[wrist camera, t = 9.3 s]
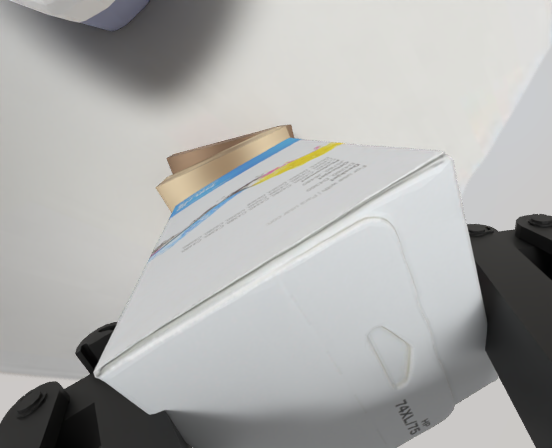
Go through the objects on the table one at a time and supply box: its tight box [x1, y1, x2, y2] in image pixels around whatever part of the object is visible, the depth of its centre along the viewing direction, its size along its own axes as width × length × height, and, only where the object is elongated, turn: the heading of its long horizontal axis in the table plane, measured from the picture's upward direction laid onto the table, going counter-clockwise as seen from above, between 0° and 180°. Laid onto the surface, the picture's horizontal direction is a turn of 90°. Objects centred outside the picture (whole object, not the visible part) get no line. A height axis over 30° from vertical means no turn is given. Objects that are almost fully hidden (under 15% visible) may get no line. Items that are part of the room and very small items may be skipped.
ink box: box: [93, 138, 498, 448], centre depth 12 cm, size 8×8×12 cm
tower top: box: [156, 126, 290, 212], centre depth 22 cm, size 10×10×4 cm
